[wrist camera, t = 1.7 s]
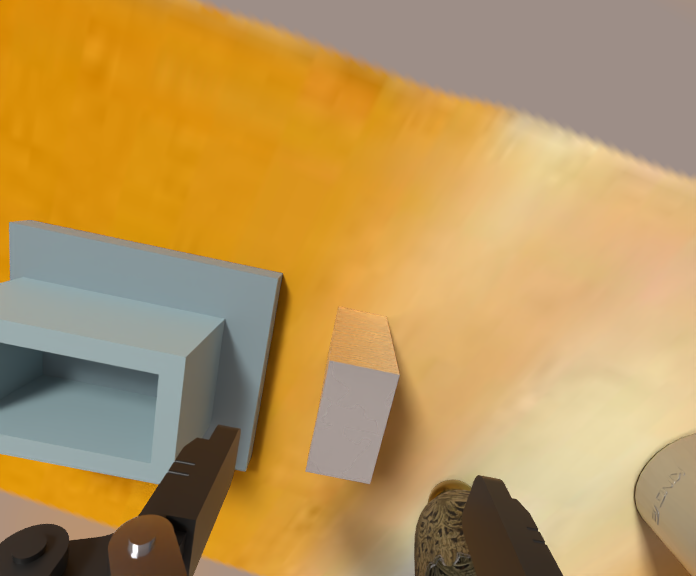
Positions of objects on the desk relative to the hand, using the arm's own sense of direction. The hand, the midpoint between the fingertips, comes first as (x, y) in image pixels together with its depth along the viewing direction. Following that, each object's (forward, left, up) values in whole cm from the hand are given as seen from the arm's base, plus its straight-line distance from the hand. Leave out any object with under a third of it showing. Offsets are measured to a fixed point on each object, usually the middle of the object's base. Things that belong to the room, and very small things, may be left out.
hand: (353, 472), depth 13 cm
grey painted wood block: (0, +2, -13) cm, 13 cm away
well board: (+13, +4, -13) cm, 19 cm away
